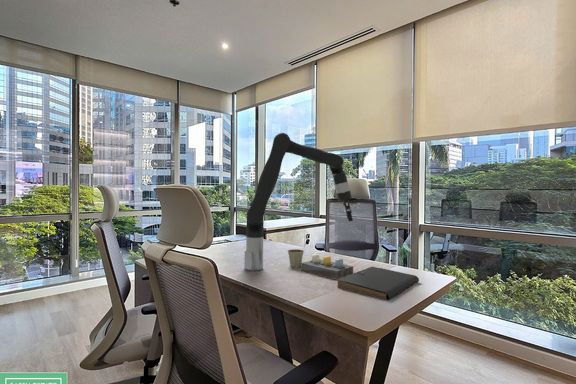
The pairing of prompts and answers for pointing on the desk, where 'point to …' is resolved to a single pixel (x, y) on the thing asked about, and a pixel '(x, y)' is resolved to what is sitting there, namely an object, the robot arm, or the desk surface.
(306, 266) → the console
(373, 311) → the desk surface
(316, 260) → the ivory button
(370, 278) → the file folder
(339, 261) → the slate button
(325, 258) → the amber button
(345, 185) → the robot arm
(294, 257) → the flower pot
